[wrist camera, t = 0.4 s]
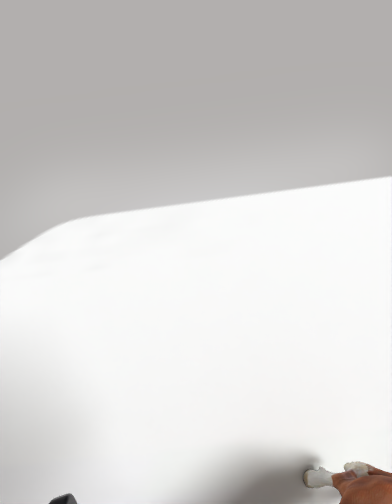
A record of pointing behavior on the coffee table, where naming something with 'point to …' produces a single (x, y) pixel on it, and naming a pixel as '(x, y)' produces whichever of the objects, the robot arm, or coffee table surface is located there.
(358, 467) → the bull figurine
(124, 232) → the coffee table surface
